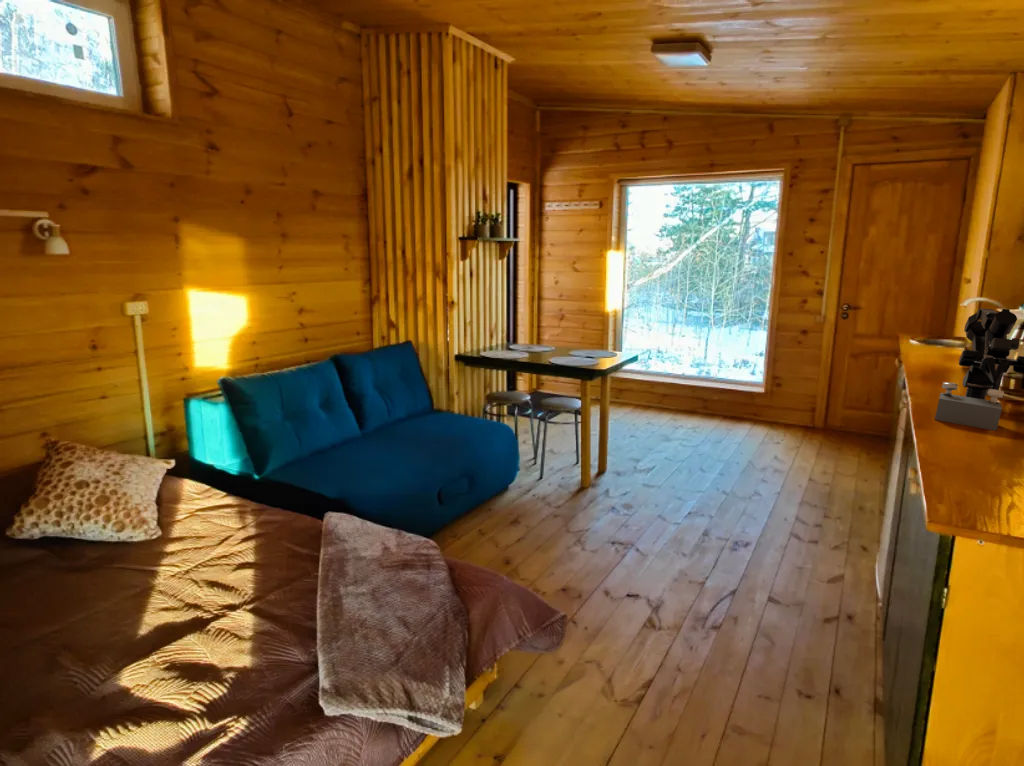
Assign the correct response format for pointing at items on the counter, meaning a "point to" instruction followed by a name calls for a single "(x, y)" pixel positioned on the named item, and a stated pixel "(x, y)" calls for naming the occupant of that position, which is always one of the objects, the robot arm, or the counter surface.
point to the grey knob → (949, 387)
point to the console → (968, 411)
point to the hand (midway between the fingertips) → (994, 382)
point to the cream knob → (995, 395)
